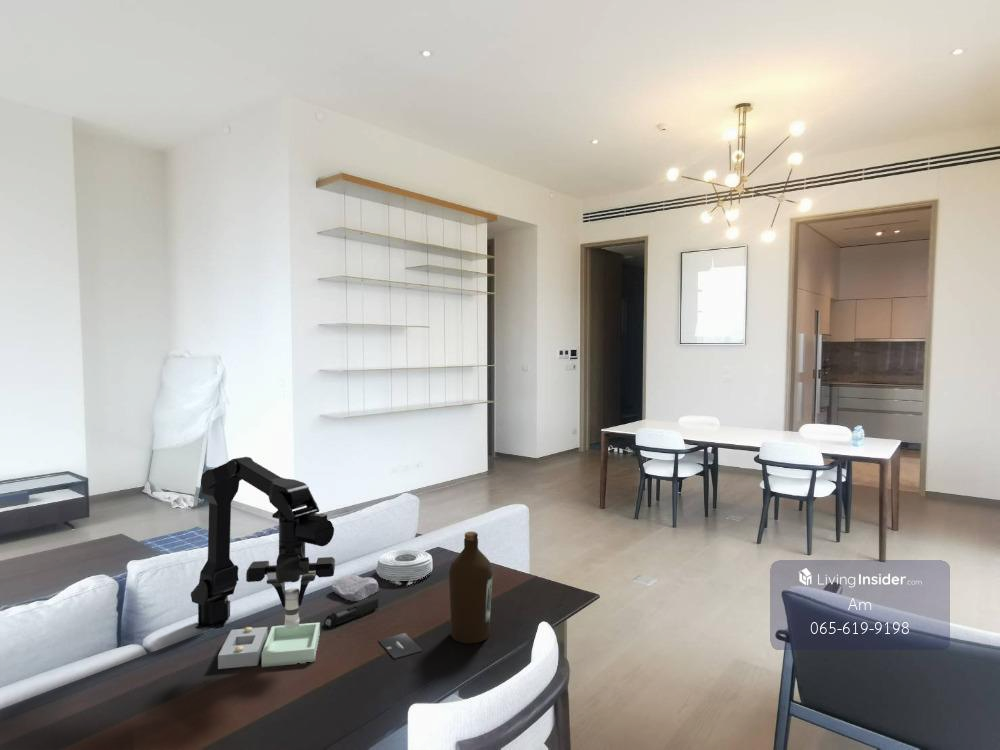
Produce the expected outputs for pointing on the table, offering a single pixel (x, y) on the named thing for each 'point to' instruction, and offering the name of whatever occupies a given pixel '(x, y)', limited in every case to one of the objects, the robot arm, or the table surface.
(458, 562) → the olive oil
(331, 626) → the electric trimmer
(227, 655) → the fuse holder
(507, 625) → the table surface
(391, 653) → the solid state drive
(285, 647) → the tray
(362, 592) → the stone block
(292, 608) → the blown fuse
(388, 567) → the cable
